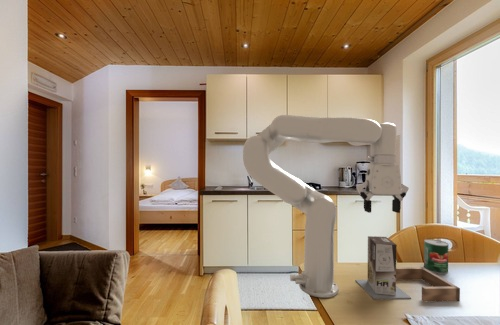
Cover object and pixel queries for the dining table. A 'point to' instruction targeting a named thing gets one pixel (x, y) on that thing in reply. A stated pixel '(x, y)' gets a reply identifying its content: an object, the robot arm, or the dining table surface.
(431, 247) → the canned tomato
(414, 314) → the dining table surface
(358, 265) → the dining table surface
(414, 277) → the cubby
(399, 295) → the mat
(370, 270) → the coffee box
